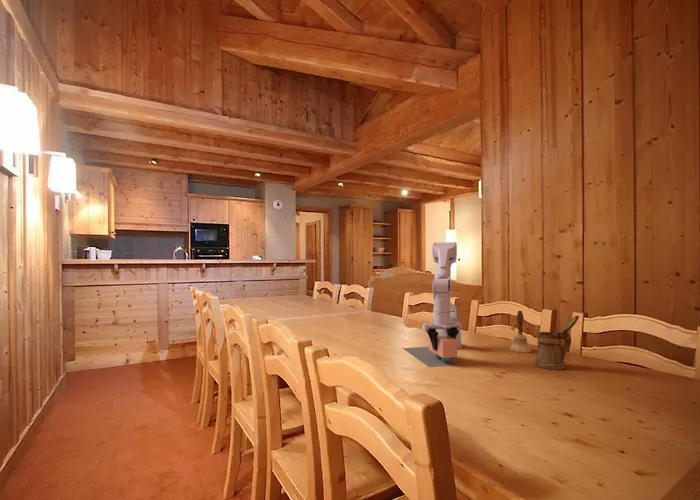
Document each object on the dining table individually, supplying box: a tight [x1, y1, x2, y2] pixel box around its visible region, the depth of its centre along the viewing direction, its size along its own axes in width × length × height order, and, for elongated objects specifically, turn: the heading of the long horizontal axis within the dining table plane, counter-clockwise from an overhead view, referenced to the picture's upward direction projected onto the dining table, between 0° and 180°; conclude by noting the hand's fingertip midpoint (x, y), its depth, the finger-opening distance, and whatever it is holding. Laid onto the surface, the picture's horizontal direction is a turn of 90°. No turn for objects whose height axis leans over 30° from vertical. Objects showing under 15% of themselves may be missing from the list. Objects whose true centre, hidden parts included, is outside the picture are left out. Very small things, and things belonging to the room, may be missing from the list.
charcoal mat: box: [402, 346, 461, 368], centre depth 133 cm, size 12×26×1 cm, turn 12°
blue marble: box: [441, 357, 451, 363], centre depth 125 cm, size 3×3×3 cm
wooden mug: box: [534, 315, 580, 371], centre depth 121 cm, size 9×14×18 cm, turn 68°
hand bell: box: [509, 310, 533, 354], centre depth 144 cm, size 8×8×16 cm
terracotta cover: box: [428, 333, 458, 359], centre depth 128 cm, size 5×11×6 cm, turn 12°
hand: (442, 349), depth 128 cm, fingers closed on terracotta cover, 5 cm apart
